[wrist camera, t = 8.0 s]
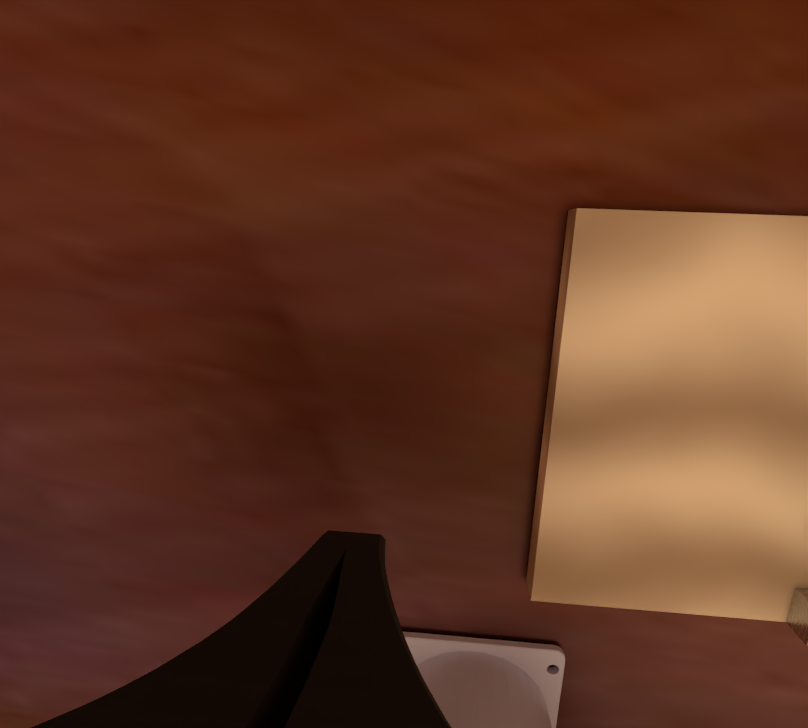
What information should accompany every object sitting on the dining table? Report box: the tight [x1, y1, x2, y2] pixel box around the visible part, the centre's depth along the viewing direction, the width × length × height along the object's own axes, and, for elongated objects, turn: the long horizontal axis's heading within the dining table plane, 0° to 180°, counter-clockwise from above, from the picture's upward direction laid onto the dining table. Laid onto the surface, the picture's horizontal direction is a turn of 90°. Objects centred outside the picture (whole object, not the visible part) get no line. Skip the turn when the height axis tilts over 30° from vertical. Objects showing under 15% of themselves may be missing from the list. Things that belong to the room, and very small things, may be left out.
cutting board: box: [526, 208, 808, 622], centre depth 19 cm, size 15×18×1 cm
